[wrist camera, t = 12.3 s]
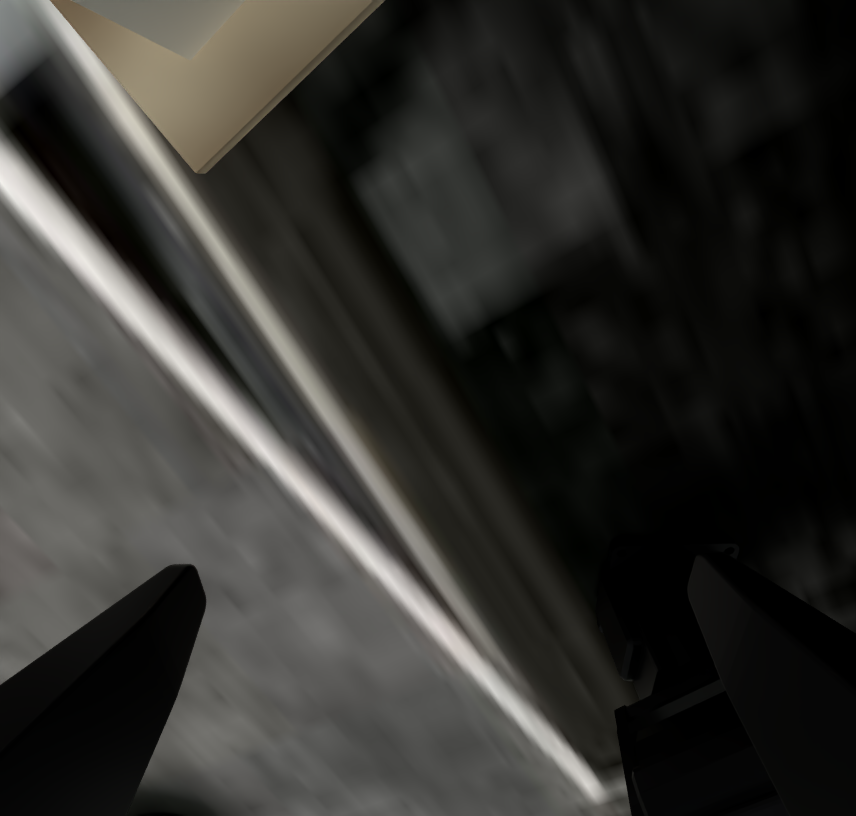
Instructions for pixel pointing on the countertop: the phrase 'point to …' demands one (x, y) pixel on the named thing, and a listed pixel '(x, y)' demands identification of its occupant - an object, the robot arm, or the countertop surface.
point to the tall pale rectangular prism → (168, 20)
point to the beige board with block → (221, 67)
